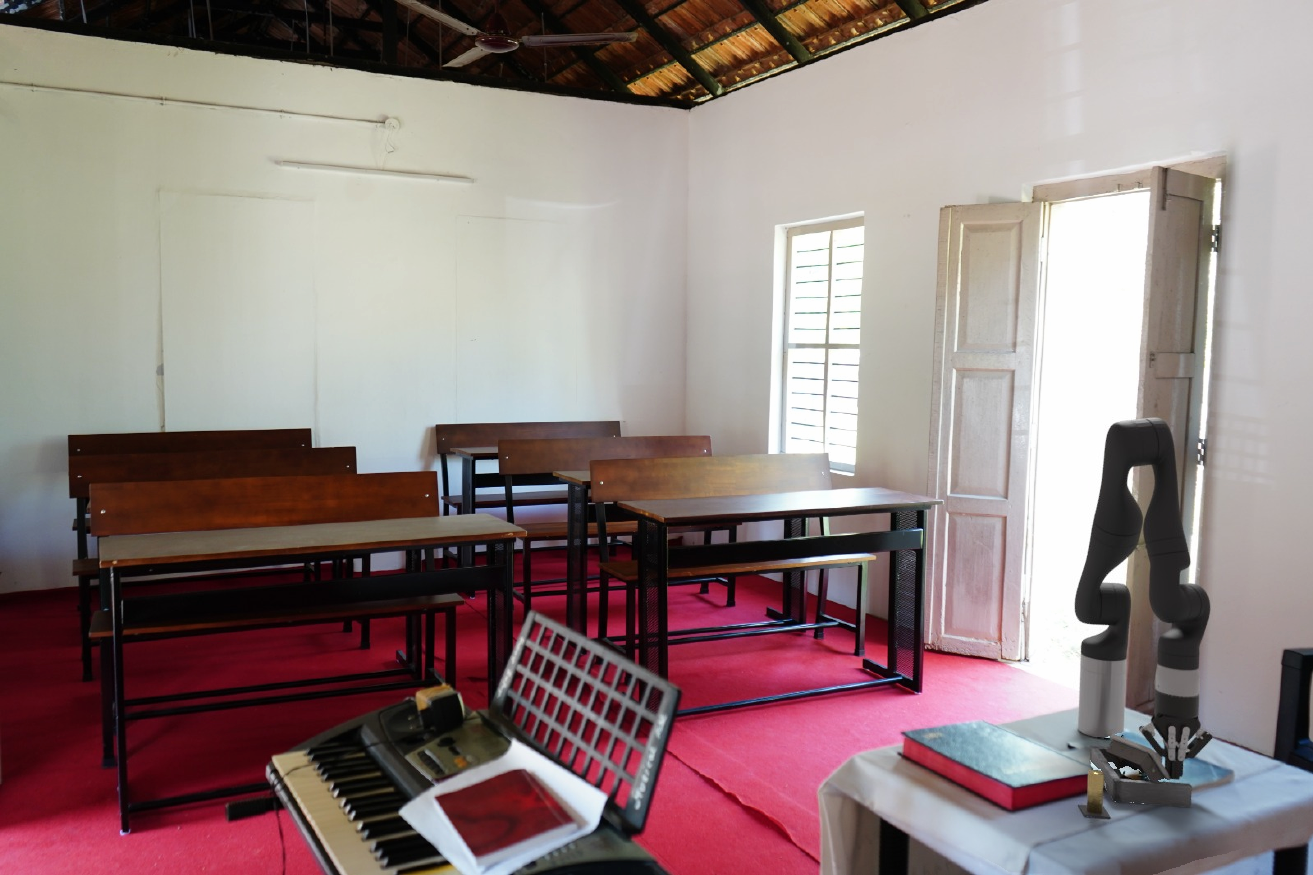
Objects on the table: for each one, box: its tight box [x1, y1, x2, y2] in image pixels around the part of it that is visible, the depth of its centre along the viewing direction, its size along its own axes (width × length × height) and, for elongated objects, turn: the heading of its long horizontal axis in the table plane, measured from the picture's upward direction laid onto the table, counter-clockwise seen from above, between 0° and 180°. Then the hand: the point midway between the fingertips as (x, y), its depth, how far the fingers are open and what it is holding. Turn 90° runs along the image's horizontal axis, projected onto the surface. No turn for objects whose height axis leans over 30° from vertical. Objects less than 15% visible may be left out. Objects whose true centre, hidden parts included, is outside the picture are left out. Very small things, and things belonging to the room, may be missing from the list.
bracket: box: [1089, 745, 1193, 808], centre depth 193 cm, size 17×13×4 cm
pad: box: [1078, 804, 1111, 820], centre depth 181 cm, size 4×4×1 cm
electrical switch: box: [1106, 734, 1171, 781], centre depth 193 cm, size 9×5×9 cm, turn 27°
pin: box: [1086, 769, 1104, 814], centre depth 181 cm, size 3×3×7 cm
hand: (1173, 777), depth 191 cm, fingers closed
